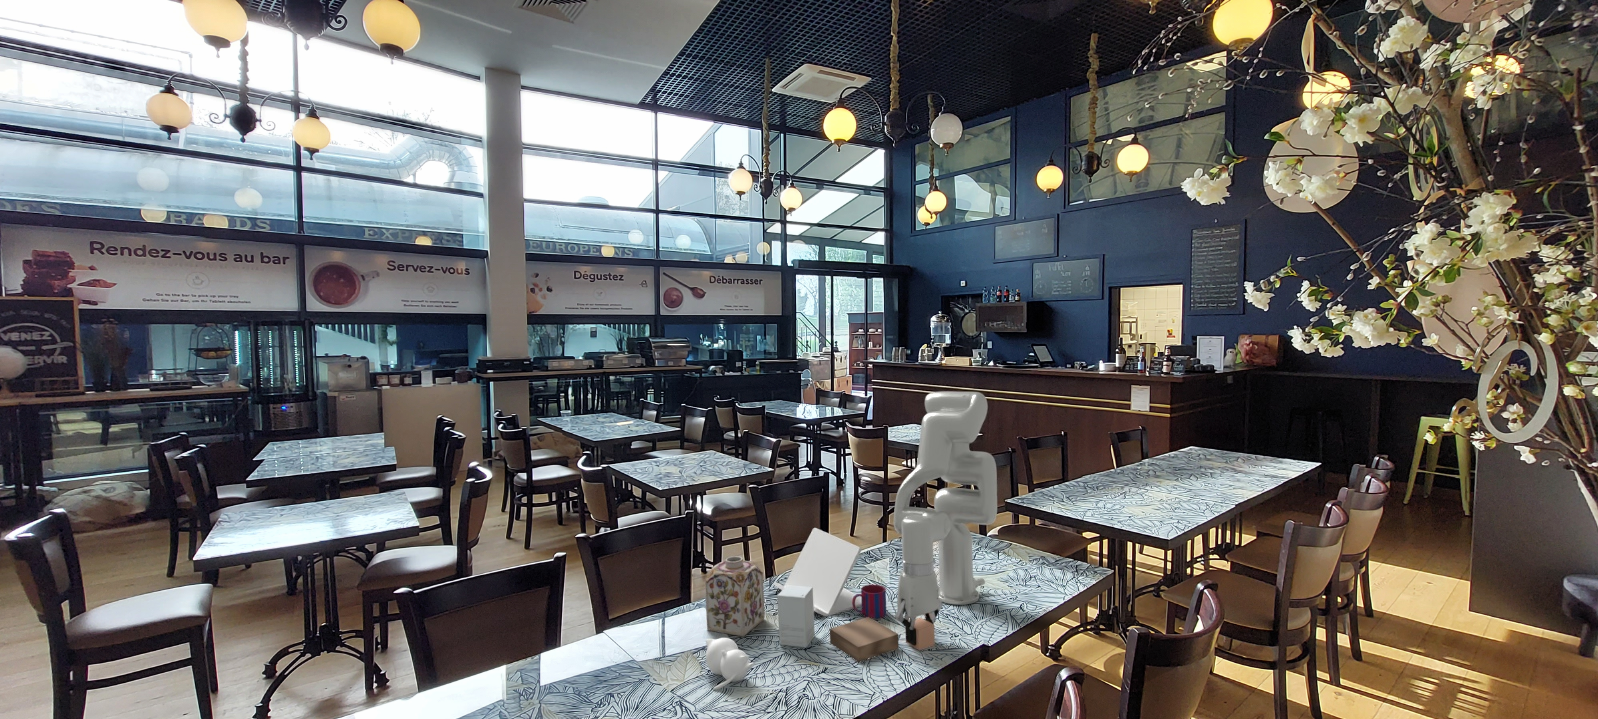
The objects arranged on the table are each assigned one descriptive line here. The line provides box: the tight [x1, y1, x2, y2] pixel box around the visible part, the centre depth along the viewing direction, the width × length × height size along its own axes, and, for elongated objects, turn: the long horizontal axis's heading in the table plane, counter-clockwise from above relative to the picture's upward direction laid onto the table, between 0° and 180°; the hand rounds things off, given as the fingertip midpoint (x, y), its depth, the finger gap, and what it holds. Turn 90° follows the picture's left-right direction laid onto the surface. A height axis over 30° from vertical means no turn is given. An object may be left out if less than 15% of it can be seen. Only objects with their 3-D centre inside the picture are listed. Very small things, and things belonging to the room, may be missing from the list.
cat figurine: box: [705, 637, 755, 691], centre depth 147 cm, size 9×11×12 cm
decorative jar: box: [705, 555, 765, 637], centre depth 174 cm, size 12×12×18 cm
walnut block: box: [829, 617, 899, 663], centre depth 160 cm, size 12×12×4 cm
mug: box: [852, 584, 887, 619], centre depth 178 cm, size 7×10×7 cm
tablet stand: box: [773, 527, 862, 617], centre depth 191 cm, size 18×25×17 cm
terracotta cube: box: [904, 617, 936, 651], centre depth 160 cm, size 5×5×5 cm
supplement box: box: [776, 585, 816, 648], centre depth 164 cm, size 7×7×13 cm
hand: (920, 639), depth 160 cm, fingers closed on terracotta cube, 5 cm apart
